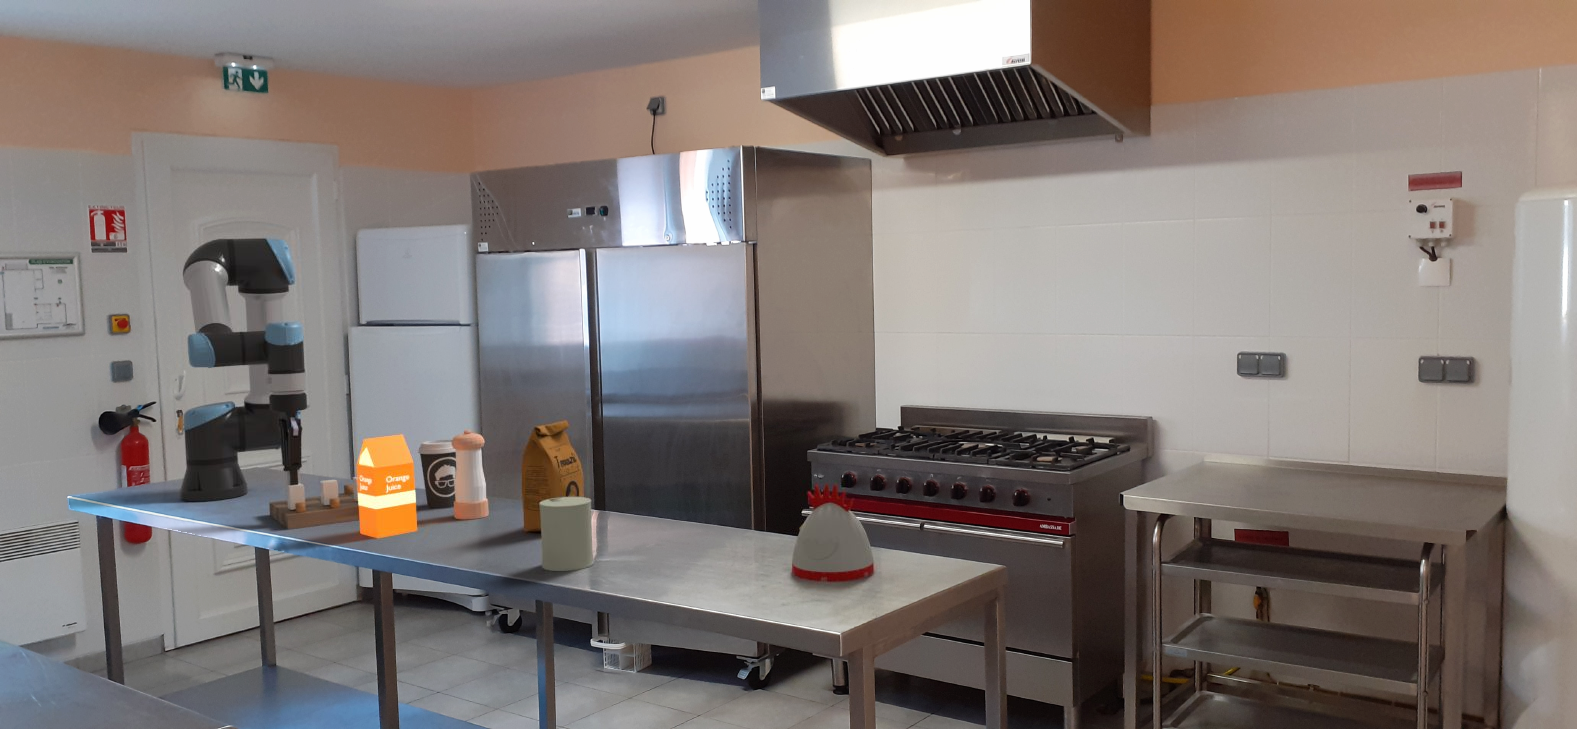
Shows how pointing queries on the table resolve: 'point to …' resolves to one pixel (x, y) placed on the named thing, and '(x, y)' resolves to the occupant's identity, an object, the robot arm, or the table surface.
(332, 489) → the switch
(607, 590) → the table surface
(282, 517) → the switch unit
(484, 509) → the pepper shaker
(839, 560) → the kitchen timer
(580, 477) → the coffee package
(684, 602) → the table surface
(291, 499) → the switch
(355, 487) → the switch
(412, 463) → the orange juice
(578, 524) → the can
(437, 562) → the table surface
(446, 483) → the coffee cup
